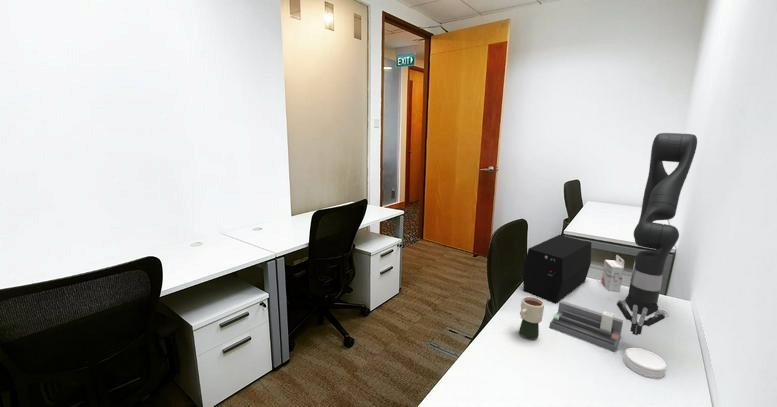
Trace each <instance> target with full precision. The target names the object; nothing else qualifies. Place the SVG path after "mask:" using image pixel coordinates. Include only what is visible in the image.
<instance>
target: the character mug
mask: <svg viewBox="0 0 777 407" xmlns="http://www.w3.org/2000/svg"><path fill="white" fill-rule="evenodd" d="M544 309H545V302H544V301H543V300H542V299H541V298H539V297H537V296H531V295H530V296H528V295H526V296H522V298H521V303H520V311H519V315H520V318H521V322H520V326H519V329H518V333H519V334H520V335H521V336H522V337H524V338H527V339H531V340H536V339H538V338H539V334H540V333H539V332H540V328H539V324H540V323H541V322H543V316H544Z"/></svg>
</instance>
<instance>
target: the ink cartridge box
mask: <svg viewBox="0 0 777 407" xmlns="http://www.w3.org/2000/svg"><path fill="white" fill-rule="evenodd" d="M602 270H603V271H602V275H601V281H600V282H601V284H602V285H603V286H604V287H605V289H607V291H610V292H621V286H622V282H623V281H622V280H623V276H624V271H625V260H624V259H623V258H622V257H621V256H619V254H616V256H615V260H614V259H613V260H611V259H604V263H603V269H602Z"/></svg>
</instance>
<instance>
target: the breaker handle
mask: <svg viewBox="0 0 777 407" xmlns="http://www.w3.org/2000/svg"><path fill="white" fill-rule="evenodd" d="M614 317H615V313H612V312H609V311H605V310H604V311H603V313H602V320H601V326H600V329H602V330H605V331H608V332H611V330H612V324H613V319H614Z"/></svg>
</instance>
